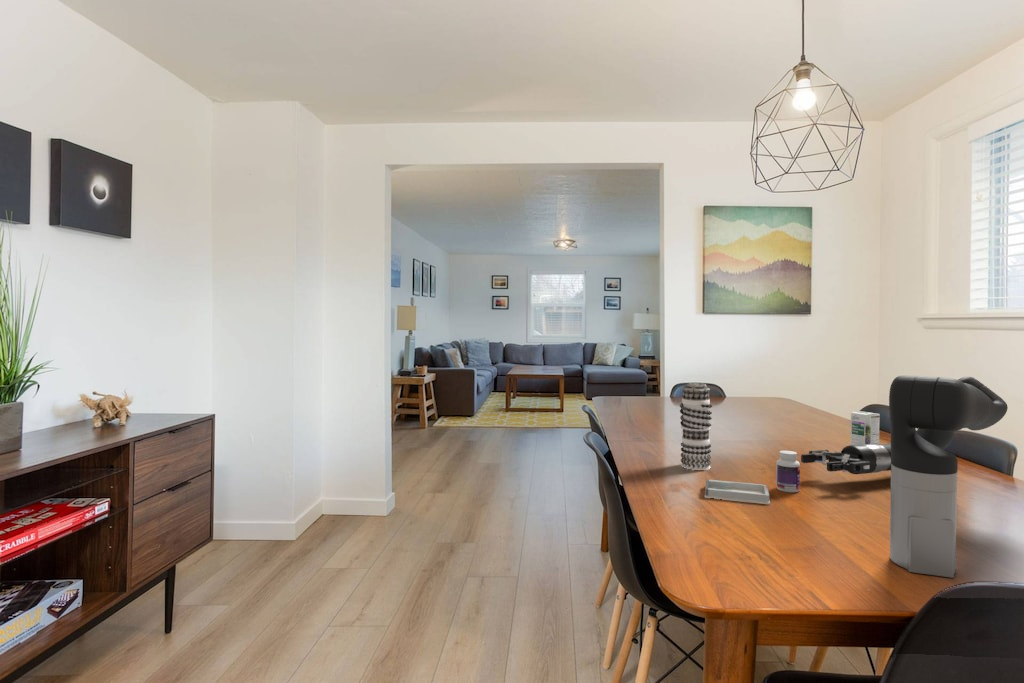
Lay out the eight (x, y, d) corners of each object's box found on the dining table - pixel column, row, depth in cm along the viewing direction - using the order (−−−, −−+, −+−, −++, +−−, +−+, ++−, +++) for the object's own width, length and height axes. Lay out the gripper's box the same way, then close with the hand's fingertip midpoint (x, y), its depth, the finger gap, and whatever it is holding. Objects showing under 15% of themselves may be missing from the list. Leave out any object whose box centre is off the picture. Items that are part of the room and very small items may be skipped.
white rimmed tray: (766, 492, 134) (766, 484, 134) (770, 504, 125) (770, 496, 125) (705, 486, 140) (705, 478, 139) (704, 497, 130) (704, 489, 130)
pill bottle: (802, 493, 133) (803, 455, 132) (779, 492, 134) (779, 454, 134) (795, 487, 138) (796, 450, 138) (773, 486, 139) (773, 449, 139)
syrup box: (849, 457, 168) (850, 411, 167) (861, 455, 170) (861, 410, 170) (868, 461, 163) (868, 414, 162) (879, 459, 165) (880, 413, 165)
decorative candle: (707, 463, 163) (707, 381, 162) (716, 471, 153) (716, 385, 153) (676, 462, 163) (676, 381, 163) (683, 470, 154) (683, 385, 153)
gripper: (843, 439, 148) (794, 442, 144) (890, 450, 134) (837, 454, 131) (842, 466, 149) (793, 469, 145) (890, 480, 135) (837, 485, 131)
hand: (814, 462), depth 138 cm, fingers open, 8 cm apart
